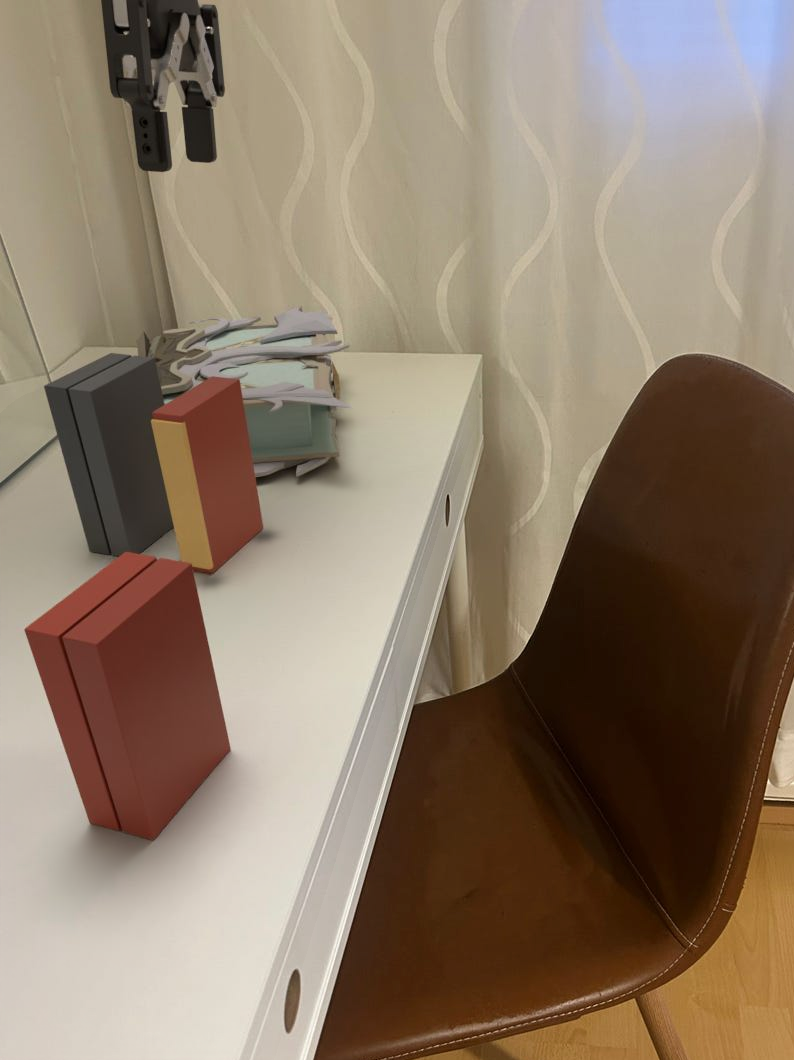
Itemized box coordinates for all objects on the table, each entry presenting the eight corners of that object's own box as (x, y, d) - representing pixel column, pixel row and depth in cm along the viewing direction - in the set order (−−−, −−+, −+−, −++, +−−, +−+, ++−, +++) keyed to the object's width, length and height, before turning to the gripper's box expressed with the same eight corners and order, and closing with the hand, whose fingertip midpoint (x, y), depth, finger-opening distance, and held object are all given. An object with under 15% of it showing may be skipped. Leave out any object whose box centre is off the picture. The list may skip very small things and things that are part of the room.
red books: (89, 823, 54) (23, 628, 46) (172, 735, 60) (125, 551, 53) (153, 841, 53) (96, 644, 45) (231, 748, 59) (192, 562, 52)
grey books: (89, 551, 80) (43, 385, 72) (147, 509, 86) (110, 352, 78) (132, 559, 78) (90, 391, 70) (188, 515, 85) (155, 357, 77)
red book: (183, 570, 77) (148, 413, 69) (237, 523, 83) (211, 375, 76) (211, 575, 76) (179, 417, 69) (264, 528, 82) (240, 379, 75)
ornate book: (153, 397, 111) (112, 503, 86) (135, 311, 106) (86, 398, 81) (350, 383, 114) (366, 482, 89) (342, 298, 109) (356, 379, 84)
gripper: (145, -94, 70) (170, 157, 78) (41, -131, 58) (85, 171, 66) (245, -90, 69) (261, 163, 77) (162, -127, 57) (191, 178, 65)
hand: (180, 166), depth 72 cm, fingers open, 8 cm apart
